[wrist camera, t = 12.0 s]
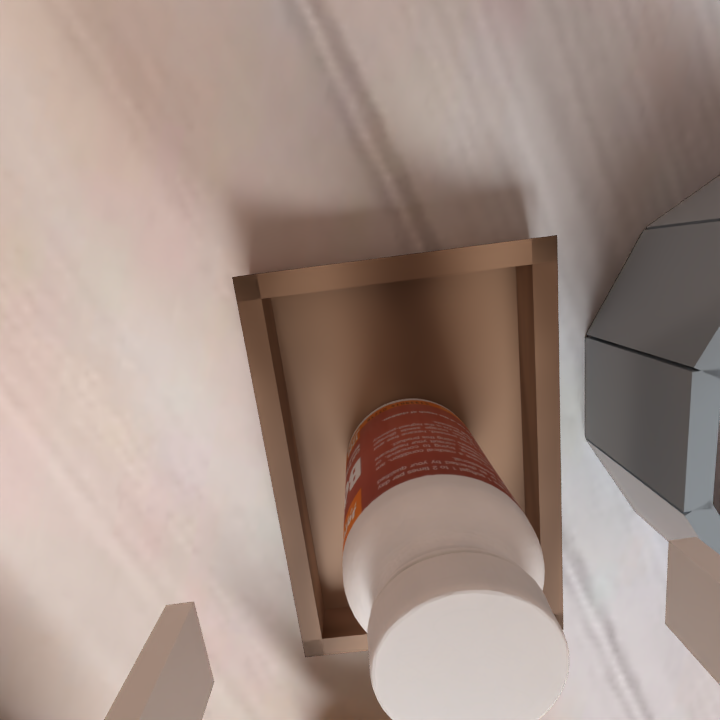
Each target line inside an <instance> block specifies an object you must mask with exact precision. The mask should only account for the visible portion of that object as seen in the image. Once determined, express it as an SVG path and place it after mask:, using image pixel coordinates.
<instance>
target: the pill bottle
mask: <svg viewBox="0 0 720 720" xmlns="http://www.w3.org/2000/svg"><path fill="white" fill-rule="evenodd" d="M342 567H343V583H344V589H345V594H346V597H347V600H348V603H349V606H350V608H351V610H352V612H353V614H354V616H355V618H356V619H357V621H358V622H359V624H360V625H361V626H362V628H363V629H364V630H365V631H366V632H367V640H368V652H369V667H370V677H371V683H372V687H373V691H374V693H375V695H376V698H377V700H378V702H379V703H380V705H381V707H382V708H383V710H384V711H385V712H386V713H387V715H388V716H389V717H390V718H391V719H392V720H538V719H540V718H541V717H542V716H543V715H544V714H545V713H546V712H547V711H548V710H549V709H550V708H551V707H552V706H553V704H554V703H555V702H556V700H557V699H558V697H559V696H560V694H561V692H562V690H563V687H564V685H565V682H566V679H567V676H568V670H569V650H568V645H567V641H566V639H565V636H564V633H563V630H562V628H561V626H560V624H559V623H558V621H557V619H556V617H555V615H554V614H553V612H552V610H551V608H550V606H549V604H548V601H547V599H546V597H545V595H544V593H543V586H544V574H545V569H544V560H543V554H542V549H541V546H540V543H539V540H538V538H537V535H536V533H535V531H534V529H533V527H532V526H531V524H530V522H529V520H528V519H527V517H526V515H525V514H524V512H523V511H522V509H521V508H520V506H519V505H518V503H517V502H516V500H515V499H514V497H513V496H512V494H511V493H510V492H509V490H508V489H507V487H506V486H505V484H504V483H503V481H502V480H501V478H500V477H499V475H498V474H497V472H496V471H495V469H494V468H493V466H492V465H491V463H490V462H489V460H488V459H487V457H486V456H485V454H484V453H483V451H482V450H481V448H480V447H479V445H478V444H477V442H476V440H475V439H474V437H473V436H472V434H471V433H470V431H469V430H468V428H467V427H466V426H465V425H464V423H463V422H462V421H461V420H460V419H459V418H458V417H457V416H456V415H455V414H454V413H453V412H452V411H450V410H449V409H447V408H446V407H444V406H442V405H440V404H438V403H435V402H432V401H428V400H424V399H416V398H409V399H401V400H396V401H392V402H390V403H387V404H384V405H383V406H381V407H379V408H377V409H376V410H374V411H373V412H371V413H370V414H369V415H368V416H367V417H365V418H364V420H363V421H362V422H361V423H360V424H359V426H358V427H357V428H356V430H355V432H354V434H353V436H352V438H351V440H350V443H349V447H348V451H347V458H346V484H345V508H344V532H343V556H342Z"/></svg>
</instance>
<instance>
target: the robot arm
mask: <svg viewBox="0 0 720 720" xmlns="http://www.w3.org/2000/svg"><path fill="white" fill-rule="evenodd" d="M665 624H666V625H667V626H668V628H669V629H670V630H671V631H672V632H673V633H674V634H675V635H676V637H677V638H678V639H679V640H680V641H681V642H682V643H683V644H684V646H685V647H686V648H687V649H688V650H689V651H690V652H691V653H692V654H693V656H694V657H695V658H696V659H697V660H698V661H699V662H700V663H701V665H702V666H703V667H704V668H705V669H706V670H707V671H708V672H709V674H710V675H711V676H712V677H713V678H714V679H715V680H716V681H717V682H718V684H719V685H720V555H719V554H718V553H717V552H715V551H714V550H713V549H712V548H710V547H709V546H708V545H706V544H705V543H704V542H702V541H701V540H700V539H699V538H697V537H692V538H684V539H676V540H669V547H668V569H667V592H666V614H665ZM213 684H214V679H213V675H212V671H211V667H210V663H209V659H208V655H207V651H206V647H205V643H204V640H203V636H202V632H201V628H200V624H199V620H198V616H197V612H196V608H195V604H194V602H187V603H179V604H172V605H166V606H165V608H164V610H163V612H162V614H161V616H160V618H159V619H158V621H157V623H156V625H155V627H154V629H153V631H152V632H151V634H150V636H149V638H148V640H147V642H146V643H145V645H144V647H143V649H142V651H141V653H140V655H139V656H138V658H137V660H136V662H135V664H134V666H133V667H132V669H131V671H130V673H129V675H128V677H127V679H126V680H125V682H124V684H123V686H122V688H121V690H120V692H119V693H118V695H117V697H116V699H115V701H114V703H113V704H112V706H111V708H110V710H109V712H108V714H107V716H106V717H105V719H104V720H202V718H203V715H204V712H205V709H206V706H207V703H208V699H209V696H210V693H211V690H212V687H213Z"/></svg>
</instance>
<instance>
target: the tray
mask: <svg viewBox="0 0 720 720" xmlns="http://www.w3.org/2000/svg"><path fill="white" fill-rule="evenodd" d="M232 279H233V284H234V289H235V294H236V300H237V305H238V310H239V315H240V320H241V325H242V331H243V336H244V341H245V346H246V351H247V357H248V362H249V367H250V372H251V377H252V383H253V388H254V393H255V398H256V403H257V409H258V414H259V419H260V424H261V429H262V435H263V440H264V445H265V450H266V455H267V461H268V466H269V471H270V476H271V481H272V487H273V492H274V497H275V502H276V507H277V513H278V518H279V523H280V528H281V533H282V539H283V544H284V549H285V554H286V559H287V565H288V570H289V575H290V580H291V585H292V591H293V596H294V601H295V606H296V611H297V617H298V622H299V627H300V632H301V637H302V643H303V648H304V653H305V657H312V656H321V655H331V654H340V653H349V652H359V651H368V640H367V632H366V631H365V630H364V629H363V628H362V626H361V625H360V624H359V622H358V621H357V619H356V618H355V616H354V614H353V612H352V610H351V608H350V606H349V603H348V600H347V597H346V594H345V589H344V583H343V567H342V556H343V532H344V508H345V484H346V458H347V451H348V447H349V443H350V440H351V438H352V436H353V434H354V432H355V430H356V428H357V427H358V426H359V424H360V423H361V422H362V421H363V420H364V418H365V417H367V416H368V415H369V414H370V413H371V412H373V411H374V410H376V409H377V408H379V407H381V406H383V405H384V404H387V403H390V402H392V401H396V400H401V399H409V398H416V399H424V400H428V401H432V402H435V403H438V404H440V405H442V406H444V407H446V408H447V409H449V410H450V411H452V412H453V413H454V414H455V415H456V416H457V417H458V418H459V419H460V420H461V421H462V422H463V423H464V425H465V426H466V427H467V428H468V430H469V431H470V433H471V434H472V436H473V437H474V439H475V440H476V442H477V444H478V445H479V447H480V448H481V450H482V451H483V453H484V454H485V456H486V457H487V459H488V460H489V462H490V463H491V465H492V466H493V468H494V469H495V471H496V472H497V474H498V475H499V477H500V478H501V480H502V481H503V483H504V484H505V486H506V487H507V489H508V490H509V492H510V493H511V494H512V496H513V497H514V499H515V500H516V502H517V503H518V505H519V506H520V508H521V509H522V511H523V512H524V514H525V515H526V517H527V519H528V520H529V522H530V524H531V526H532V527H533V529H534V531H535V533H536V535H537V538H538V540H539V543H540V546H541V549H542V554H543V560H544V569H545V574H544V586H543V593H544V595H545V597H546V599H547V601H548V604H549V606H550V608H551V610H552V612H553V614H554V615H555V617H556V619H557V621H558V623H559V624H560V626H561V628H562V630H563V580H562V516H561V452H560V388H559V324H558V260H557V235H555V236H547V237H539V238H531V239H524V240H516V241H508V242H500V243H493V244H485V245H477V246H469V247H462V248H454V249H446V250H438V251H431V252H423V253H415V254H407V255H400V256H392V257H384V258H376V259H369V260H361V261H353V262H345V263H338V264H330V265H322V266H314V267H307V268H299V269H291V270H283V271H275V272H268V273H260V274H252V275H244V276H237V277H232Z"/></svg>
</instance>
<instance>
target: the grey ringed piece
mask: <svg viewBox="0 0 720 720" xmlns="http://www.w3.org/2000/svg"><path fill="white" fill-rule="evenodd" d="M646 228H647V230H643V232H642V234H641V236H640V238H639V240H638V241H637V243H636V245H635V247H634V249H633V250H632V252H631V254H630V256H629V258H628V259H627V261H626V263H625V265H624V267H623V269H622V270H621V272H620V274H619V276H618V278H617V279H616V281H615V283H614V285H613V287H612V288H611V290H610V292H609V294H608V296H607V298H606V299H605V301H604V303H603V305H602V307H601V308H600V310H599V312H598V314H597V316H596V317H595V319H594V321H593V323H592V325H591V327H590V328H589V330H588V332H587V334H586V335H589V336H591V337H585V437H586V438H587V442H588V443H589V445H590V446H591V448H592V449H593V451H594V452H595V454H596V455H597V457H598V458H599V459H600V461H601V462H602V464H603V465H604V467H605V468H606V470H607V471H608V473H609V474H610V476H611V477H612V479H613V480H614V482H615V483H616V484H617V486H618V487H619V489H620V490H621V492H622V493H623V495H624V496H625V498H626V499H627V501H628V502H629V504H630V505H631V507H632V508H633V510H634V511H635V512H636V513H637V514H638V515H639V516H640V517H641V518H642V519H644V520H645V521H646V522H647V523H648V524H649V525H650V526H651V527H653V528H654V529H655V530H656V531H657V532H658V533H659V534H660V535H662V536H663V537H664V538H665V539H666V540H667V541H668V542H669V540H676V539H684V538H692V537H697V538H699V539H700V540H701V541H702V542H704V543H705V544H706V545H708V546H709V547H710V548H712V549H713V550H714V551H715V552H717V553H718V554H719V555H720V515H719V514H718V512H717V510H716V509H715V507H714V506H713V493H714V480H715V468H716V455H717V442H718V429H719V416H720V175H719V176H718V177H716V178H715V179H713V180H712V181H711V182H709V183H708V184H706V185H705V186H704V187H702V188H701V189H699V190H698V191H697V192H695V193H694V194H692V195H691V196H690V197H688V198H687V199H685V200H684V201H683V202H681V203H680V204H678V205H677V206H675V207H674V208H673V209H671V210H670V211H668V212H667V213H666V214H664V215H663V216H661V217H660V218H659V219H657V220H656V221H654V222H653V223H652V224H650V225H649V226H647V227H646Z"/></svg>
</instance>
